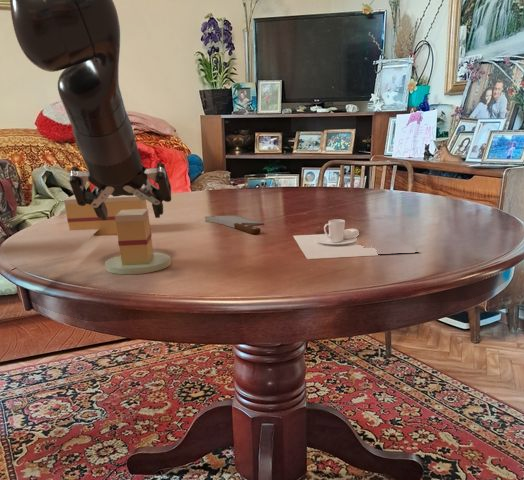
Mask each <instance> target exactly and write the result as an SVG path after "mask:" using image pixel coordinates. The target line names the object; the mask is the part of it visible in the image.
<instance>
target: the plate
mask: <svg viewBox="0 0 524 480" xmlns="http://www.w3.org/2000/svg"><path fill="white" fill-rule="evenodd" d="M171 264H172V259H171V256H170V255H168V254H166V253H162V252H153V257H152V259H151V261H150V263H149V264H133V265H122V261H121V255H117V256H113V257H111V258H108V259H107V260H106V261H104V268H105V271H106V272H108V273H111V274H115V275H140V274H141V275H142V274H149V273H154V272H158V271H162V270H164V269H166V268H168V267H170V266H171Z"/></svg>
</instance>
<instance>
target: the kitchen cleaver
mask: <svg viewBox="0 0 524 480" xmlns="http://www.w3.org/2000/svg"><path fill="white" fill-rule="evenodd" d="M204 222H207V223H209V222H210V223H214V224H219V225H223V226H227V227H230V228H233V229H236V230H239V231H242V232H245V233H248V234H251V235H260V234H261V228H260V227H255V226H259V225H264V224H265V223H264V222H261V221H258V220H255V219H252V218H247V217H244V216H239V215H205V216H204Z"/></svg>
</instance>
